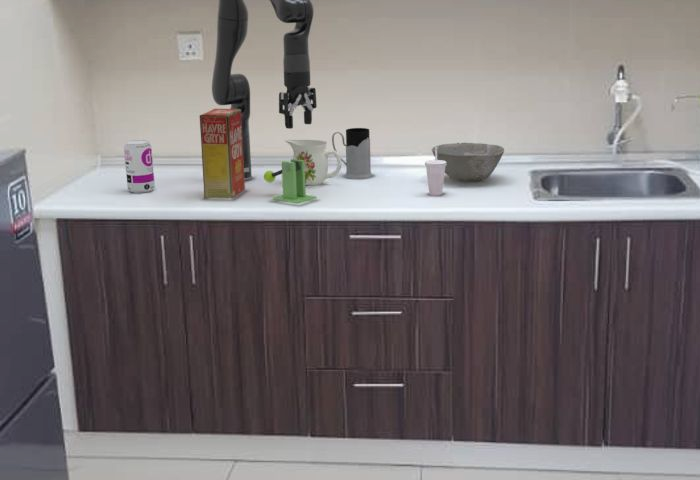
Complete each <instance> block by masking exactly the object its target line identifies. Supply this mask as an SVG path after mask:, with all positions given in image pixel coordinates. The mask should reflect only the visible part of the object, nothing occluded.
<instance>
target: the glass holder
mask: <svg viewBox="0 0 700 480" xmlns="http://www.w3.org/2000/svg"><path fill="white" fill-rule="evenodd" d="M336 134H339V135H340V136H341V141H342V145H343V146H344V147H345V159H343V158H342V157H341V156H340V158H341V163H343V164H344V165H345V169H346V171H345V172H346V173H345V175H344V177H345V178H347V179H353V180H364V179H370V178H372V177H373V174H372V166H371V165H372V163H371V138H370V128H366V127H353V128H352V127H351V128H347V129H345V137H344V135H343V133H342V132H340V131H336V132H334V133H332V136H331V143H332V144H331V145H332V149H333V151H336V152H338V151H337V149H336V145H335V135H336Z"/></svg>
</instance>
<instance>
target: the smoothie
mask: <svg viewBox="0 0 700 480" xmlns="http://www.w3.org/2000/svg"><path fill="white" fill-rule="evenodd" d="M434 147H435V146H434ZM424 166H425V169H426V170H425V171H426V178H427V185H428V186H427V187H428V194H429V195H430V196H434V197H435V196H442V194H443V188H444V181H445V174H446V173H445V166H446V161H443V160H437V147H435V156H434V159H430V160H429V159H428V160H426V161H424Z"/></svg>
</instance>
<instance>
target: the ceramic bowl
mask: <svg viewBox="0 0 700 480" xmlns="http://www.w3.org/2000/svg"><path fill="white" fill-rule="evenodd" d="M435 147H437V160H443V161H446V166H445V173H444V174H445V175H446V176H448V177H449V178H450V179H452V180H453V181H458V182H471V183H472V182H473V183H474V182H475V183H478V182H483V181H485V180H487V179H488V178H489V177H490V176H491V175H492V174H493V173H494V171H495V169H496V168H497V166H498V164H499V163H500V162H501V159H502V157H503V155H504V153H505V148H504V146H501V145H498V144H489V143H481V142H480V143H479V142H478V143H477V142H475V143H474V142H456V143H444V144H442V143H441V144H439V145H435V146H433V147H432V148H431V152H432V155H433V156H434V157H435Z"/></svg>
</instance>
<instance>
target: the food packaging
mask: <svg viewBox="0 0 700 480" xmlns="http://www.w3.org/2000/svg"><path fill="white" fill-rule="evenodd" d="M199 129H200V130H199V131H200V143H201V144H200V145H201V163H202V180H203V182H202V183H203V199H213V198H214V199H233V198H235V197H236V196H238V195H239V194H241V192H243V191H244V190H246V181H245V178H244V160H243V140H242V121H241V109H230V108H212V109H211V110H209V111H207V112H204V113H202V114H199Z"/></svg>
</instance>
